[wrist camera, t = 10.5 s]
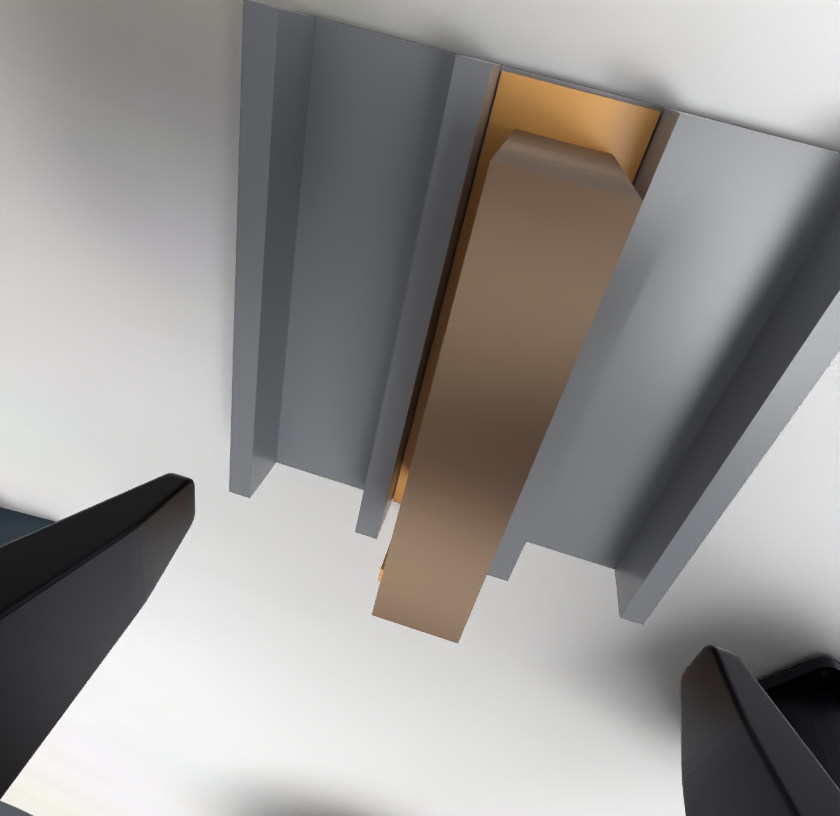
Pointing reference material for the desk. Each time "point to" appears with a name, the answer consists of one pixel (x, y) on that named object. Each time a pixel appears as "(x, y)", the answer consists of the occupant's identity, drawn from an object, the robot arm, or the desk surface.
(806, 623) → the desk surface
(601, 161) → the panel
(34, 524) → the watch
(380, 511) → the rack
